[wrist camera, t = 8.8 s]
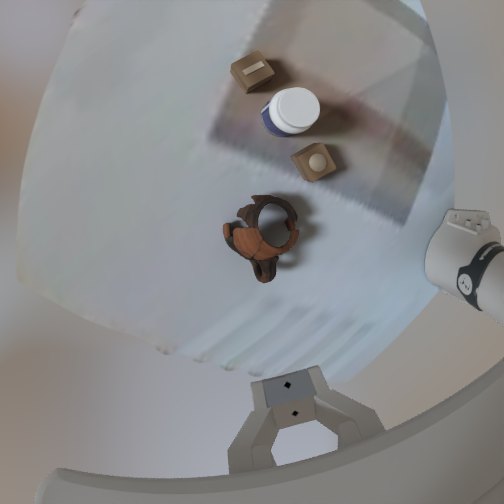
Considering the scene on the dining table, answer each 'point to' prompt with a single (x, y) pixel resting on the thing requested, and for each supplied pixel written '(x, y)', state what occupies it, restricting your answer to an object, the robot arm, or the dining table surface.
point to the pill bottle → (290, 112)
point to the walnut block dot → (313, 162)
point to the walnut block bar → (251, 71)
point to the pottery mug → (260, 237)
